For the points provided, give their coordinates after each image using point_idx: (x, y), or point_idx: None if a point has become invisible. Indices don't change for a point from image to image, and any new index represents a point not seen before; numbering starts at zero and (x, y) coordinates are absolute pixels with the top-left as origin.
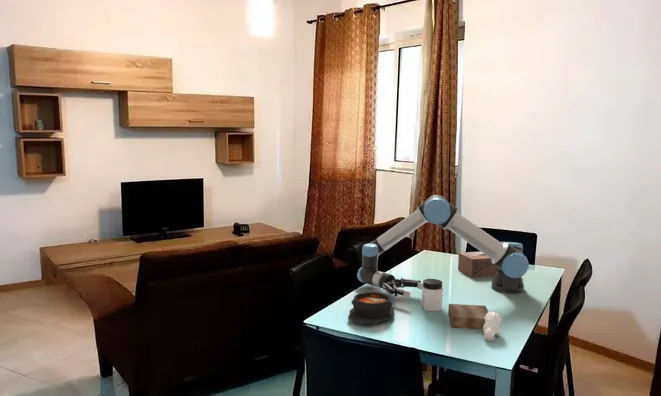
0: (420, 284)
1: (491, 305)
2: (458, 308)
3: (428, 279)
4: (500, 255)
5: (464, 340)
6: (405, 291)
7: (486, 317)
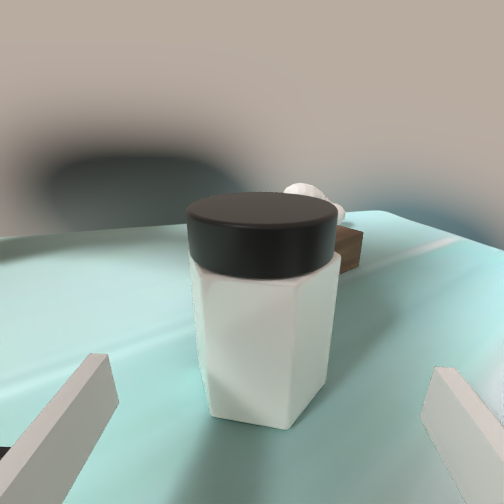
0: (12, 502)
1: (77, 273)
2: None
3: (242, 217)
4: None
5: (380, 240)
6: (494, 426)
7: (317, 194)
